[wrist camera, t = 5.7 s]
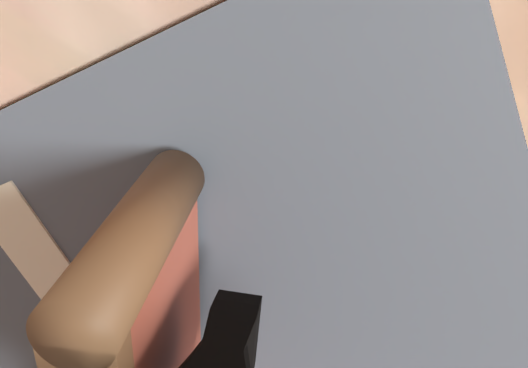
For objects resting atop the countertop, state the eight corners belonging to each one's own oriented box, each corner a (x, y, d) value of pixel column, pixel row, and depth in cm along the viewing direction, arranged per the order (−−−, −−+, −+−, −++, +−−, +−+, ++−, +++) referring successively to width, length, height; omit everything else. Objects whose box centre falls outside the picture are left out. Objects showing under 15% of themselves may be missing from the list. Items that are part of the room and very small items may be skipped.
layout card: (607, 461, 16) (613, 472, 15) (18, 550, 23) (13, 560, 22) (455, -111, 10) (460, -113, 9) (-290, 250, 16) (-303, 257, 16)
